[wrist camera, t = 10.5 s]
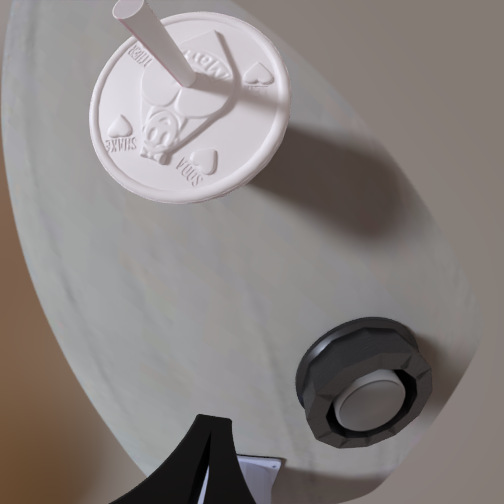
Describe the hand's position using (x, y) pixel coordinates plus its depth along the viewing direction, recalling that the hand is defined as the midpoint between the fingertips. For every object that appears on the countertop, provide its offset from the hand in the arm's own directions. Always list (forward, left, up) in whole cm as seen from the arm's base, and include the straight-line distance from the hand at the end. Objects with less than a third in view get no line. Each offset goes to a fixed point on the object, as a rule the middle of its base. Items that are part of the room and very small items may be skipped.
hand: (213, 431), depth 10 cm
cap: (-3, -10, -9) cm, 14 cm away
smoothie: (+12, +2, -10) cm, 15 cm away
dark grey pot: (-3, -10, -9) cm, 14 cm away
